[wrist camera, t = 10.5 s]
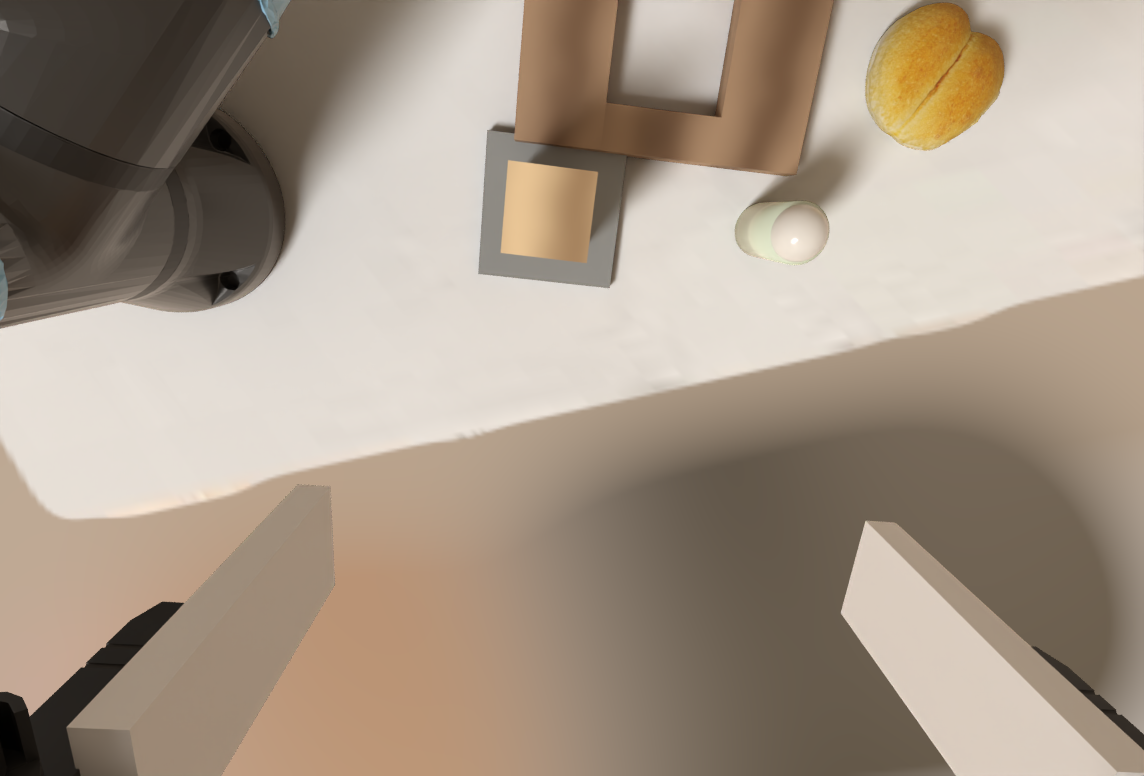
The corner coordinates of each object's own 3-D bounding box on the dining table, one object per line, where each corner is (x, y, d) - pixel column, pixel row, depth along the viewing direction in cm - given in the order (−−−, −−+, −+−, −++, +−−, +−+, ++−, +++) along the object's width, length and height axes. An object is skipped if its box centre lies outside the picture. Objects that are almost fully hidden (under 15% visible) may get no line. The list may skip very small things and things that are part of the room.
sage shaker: (730, 253, 44) (771, 264, 35) (740, 199, 42) (785, 196, 34) (780, 259, 44) (833, 270, 35) (792, 205, 43) (850, 204, 34)
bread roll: (916, -14, 39) (956, -39, 35) (1002, 73, 41) (1048, 59, 37) (833, 93, 41) (862, 81, 37) (918, 172, 42) (954, 168, 39)
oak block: (513, 243, 42) (500, 252, 33) (519, 172, 41) (507, 160, 31) (579, 251, 42) (586, 263, 33) (588, 180, 41) (598, 171, 31)
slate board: (479, 272, 43) (478, 273, 43) (488, 131, 41) (487, 130, 40) (608, 286, 44) (609, 288, 43) (626, 148, 41) (627, 147, 40)
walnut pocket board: (515, 142, 41) (514, 139, 39) (533, -90, 37) (532, -107, 35) (785, 176, 42) (796, 174, 40) (831, -46, 38) (846, -60, 36)
